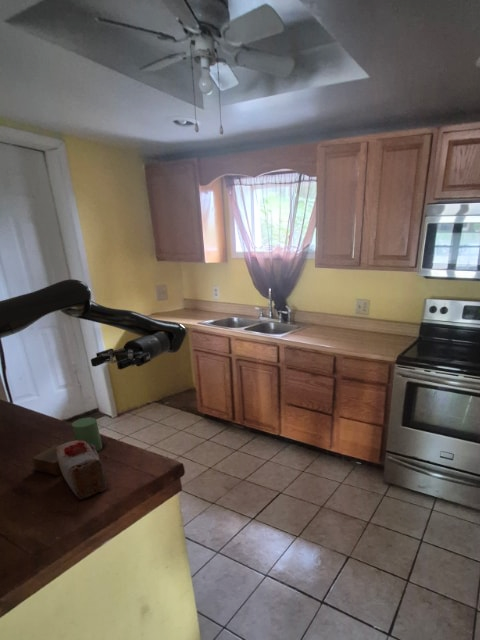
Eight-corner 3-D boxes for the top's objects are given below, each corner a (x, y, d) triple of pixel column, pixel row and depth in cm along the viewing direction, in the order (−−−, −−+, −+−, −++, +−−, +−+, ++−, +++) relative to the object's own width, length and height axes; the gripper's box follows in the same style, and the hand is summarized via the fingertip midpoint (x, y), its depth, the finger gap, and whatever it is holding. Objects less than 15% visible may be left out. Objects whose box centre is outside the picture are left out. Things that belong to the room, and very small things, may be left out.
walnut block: (35, 470, 90) (31, 457, 88) (61, 455, 96) (57, 443, 94) (58, 475, 88) (54, 463, 86) (82, 460, 94) (79, 448, 92)
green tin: (79, 456, 95) (71, 429, 92) (78, 446, 100) (71, 420, 97) (103, 450, 98) (96, 424, 95) (101, 441, 102) (95, 415, 99)
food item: (58, 475, 88) (48, 439, 84) (95, 463, 93) (86, 428, 89) (75, 503, 79) (64, 463, 75) (114, 487, 84) (106, 449, 80)
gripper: (121, 335, 115) (80, 348, 101) (161, 339, 112) (125, 353, 97) (125, 359, 118) (86, 374, 104) (165, 363, 115) (129, 380, 100)
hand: (105, 364), depth 101 cm, fingers open, 8 cm apart
